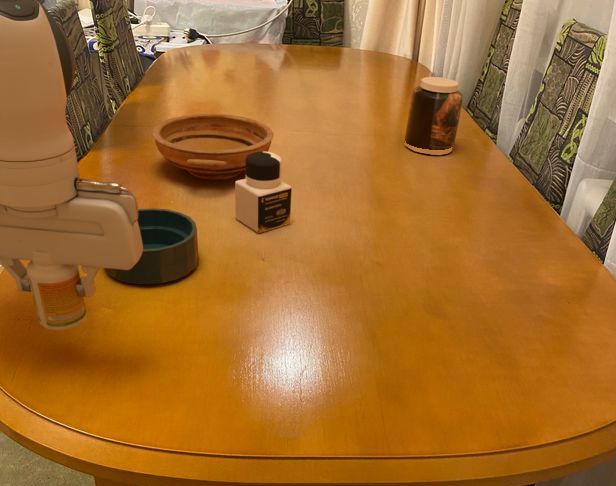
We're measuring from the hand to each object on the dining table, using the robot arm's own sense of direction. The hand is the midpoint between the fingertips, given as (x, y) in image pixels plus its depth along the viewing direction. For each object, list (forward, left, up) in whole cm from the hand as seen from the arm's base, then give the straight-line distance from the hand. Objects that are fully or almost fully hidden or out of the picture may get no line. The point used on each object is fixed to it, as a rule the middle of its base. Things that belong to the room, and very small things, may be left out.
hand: (57, 291), depth 69 cm
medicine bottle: (+18, +42, -9) cm, 47 cm away
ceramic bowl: (+5, +65, -9) cm, 66 cm away
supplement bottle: (0, 0, -4) cm, 4 cm away
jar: (+52, +90, -9) cm, 105 cm away
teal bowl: (+3, +24, -9) cm, 26 cm away
